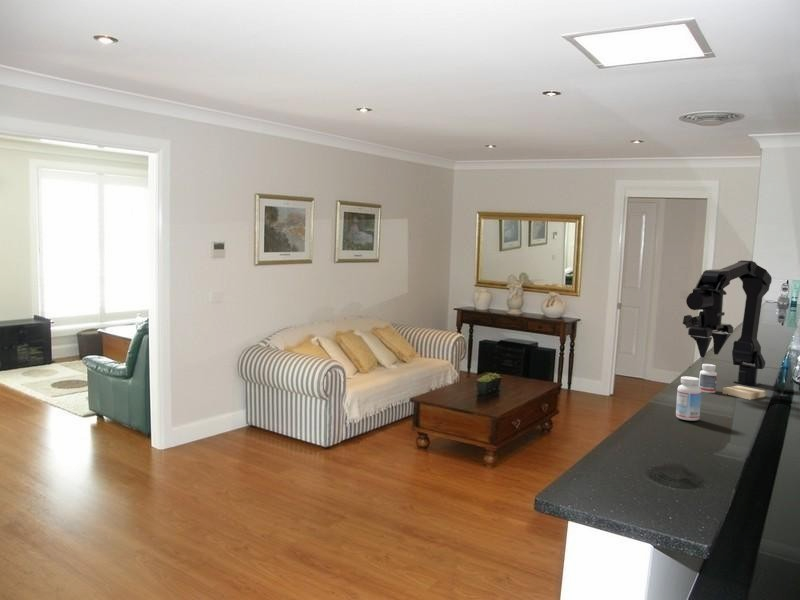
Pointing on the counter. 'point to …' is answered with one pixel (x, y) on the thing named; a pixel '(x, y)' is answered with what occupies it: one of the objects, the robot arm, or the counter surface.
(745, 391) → the maple block
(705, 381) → the pill bottle
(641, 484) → the counter surface
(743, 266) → the robot arm
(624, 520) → the counter surface
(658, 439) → the counter surface
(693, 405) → the pill bottle
